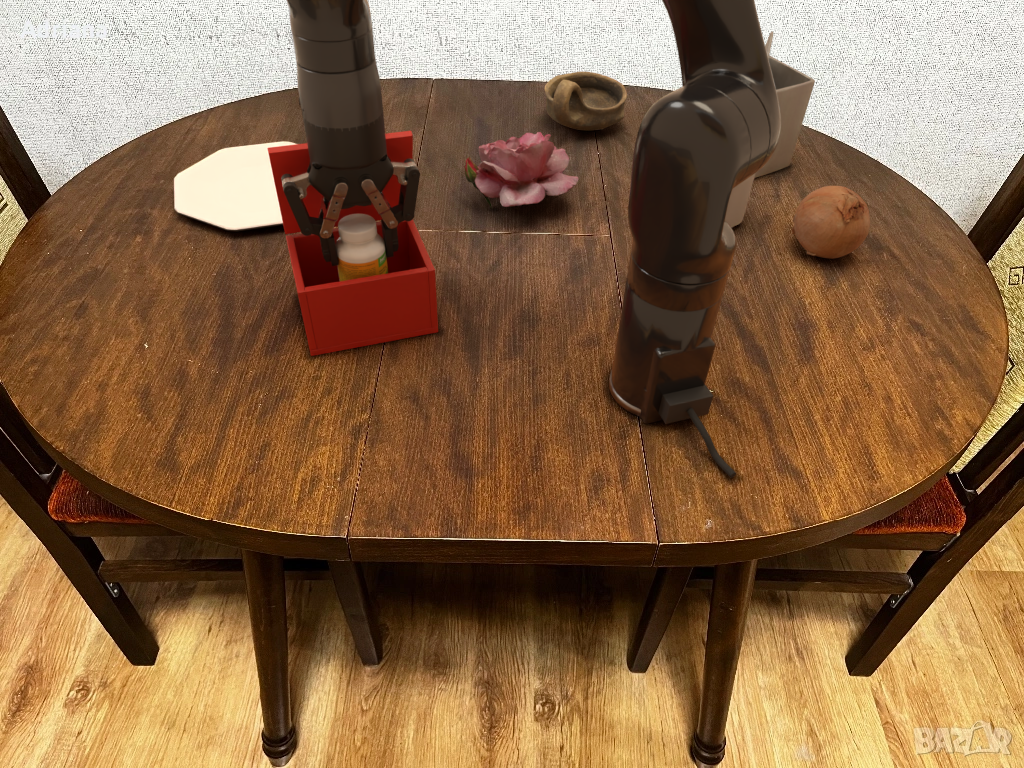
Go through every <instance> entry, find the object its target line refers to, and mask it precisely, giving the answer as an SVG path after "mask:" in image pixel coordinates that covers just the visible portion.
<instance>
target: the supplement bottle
mask: <svg viewBox="0 0 1024 768" xmlns="http://www.w3.org/2000/svg"><path fill="white" fill-rule="evenodd" d="M376 222H377V221H375V219H374V218H373V217H371V216H369V215H366V214H351V215H347V216H345V217H343V218H342V219H341V220H340V221H339V223H338V227H337V228H338V230H339V236H340V237H339V239H338V240H337V242H336V244H335V246H336V252H337V259H338V271H339V278H340V281H345V280H351V279H357V278H363V277H369V276H375V275H381V274H387V273H388V266H387V257H386V247H385V242H384V240H383V238H382V237H381V236H380V235H379V234H377V226H376Z"/></svg>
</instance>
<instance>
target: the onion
mask: <svg viewBox="0 0 1024 768" xmlns="http://www.w3.org/2000/svg"><path fill="white" fill-rule="evenodd" d="M792 221H793V227H792V228H791V234H792V236H795V238H796V239H797V241H798V243H799V244H800V246H801V247H802V248H803V249H804V250H805V252H806V255H810V256H813V257H818V258H824V259H838V258H842V257H845V256H847V255H850V254H851V253H853V252H854V251H855V250H857V249H858V248H859V247H860V246H861V245H862V244H863V243H864V242H865V240H866V239H867V237H868V235H869V233H870V229H871V217H870V211H869V207H868V205H867V203H866V201H864V199H863V198H862V197H861V196H860V195H859V194H858V193H857V192H855V191H853V189H850V188H847V187H846V186H841V185H825V186H822V187H820V188H817V189H814V190H813V191H812V192H810V193H809V194H807V195H806V196H805V197H804V198H803V199H802V200H801V201H800V202H799V204H798V206H797V207H796V210H795V212H794V215H793V219H792Z"/></svg>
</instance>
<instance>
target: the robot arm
mask: <svg viewBox="0 0 1024 768" xmlns="http://www.w3.org/2000/svg"><path fill="white" fill-rule="evenodd" d="M661 2H662V3H663V5H664V8H665V10H666V12H667V16H668V18H669V21H670V23H671V28H672V31H673V35H674V40H675V45H676V49H677V54H678V56H677V57H678V60H679V61H678V62H679V66H680V67H679V68H680V74H681V85H682V86H681V87H679V88H677V89H675V90H673V91H671V92H670V93H667V94H666V95H664V96H662V97H660V98H659V99H658V100H657V101H655V102H654V103H653V104H652V105H651V106H650V107H648V110H647V111H646V112H645V113H644V116H643V118H642V119H641V122H640V125H639V127H638V131H637V134H636V139H635V143H634V149H633V156H632V165H631V173H630V185H629V186H630V187H629V197H628V206H627V220H628V227H629V231H630V234H631V239H632V242H631V249H630V255H629V262H628V269H627V274H626V281H625V285H624V292H623V300H622V304H621V311H620V318H619V323H618V330H617V335H616V342H615V348H614V354H613V360H612V361H613V362H612V367H611V371H610V374H609V380H608V388H609V392H610V394H611V396H612V398H613V400H614V401H615V402H616V403H617V404H618V405H619V406H620V407H621V408H623V409H624V410H625V411H627V412H629V413H630V414H633V415H635V416H638V417H639V418H640V419H641V420H642V422H643V423H644V424H652V423H657V422H660V421H663V422H664V424H665V425H668V424H673V423H676V422H680V421H685V420H689V419H690V420H691V421H692V424H693V425H694V427H695V428H696V429H697V431H698V432H699V435H700V436H701V438H702V440H703V442H704V443H705V447H706V448H707V450H708V453H709V455H710V456H711V458H712V459H713V461H714V462H715V463H716V465H717V466H718V467H720V469H721V470H722V471H723V472H724V473H725V474H726V475H727V476H728V477H729V478H730V479H733V478H734V477H735V476H736V475H737V472H736V471H735V470H734V469H733V468H732V467H731V466H730V465H729V464H728V463H727V462H726V461H725V460H724V459H723V458H722V456H721V455H720V454H719V452H718V450H717V448H716V447H715V444H714V442H713V440H712V438H711V435H710V434H709V432H708V430H707V428H706V427H705V425H704V424H703V422H702V421H701V419H700V418H699V417H702V416H706V415H709V413H710V409H711V407H712V404H713V399H714V394H713V393H712V392H711V391H710V389H709V388H708V386H707V384H706V382H707V378H708V376H709V375H708V374H709V372H710V367H711V364H712V360H713V357H714V353H715V349H716V346H717V345H716V342H715V341H714V340H713V339H712V337H713V333H714V329H715V326H716V323H717V319H718V315H719V311H720V307H721V304H722V299H723V296H724V292H725V290H726V286H727V283H728V278H729V275H730V272H731V268H732V264H733V260H734V257H735V253H736V248H737V237H736V236H737V235H736V234H735V232H734V229H733V227H732V228H731V227H730V225H729V224H728V223H727V222H726V221H725V217H726V212H727V207H728V203H729V199H730V195H731V192H732V189H733V188H734V187H736V186H737V185H739V184H740V183H742V182H743V181H745V180H746V179H747V178H749V177H750V176H752V175H753V174H755V173H756V172H757V171H759V170H760V169H761V168H762V167H763V166H764V165H765V164H766V163H767V162H768V161H769V159H770V158H771V156H772V155H773V153H774V151H775V149H776V147H777V144H778V140H779V136H780V128H781V118H780V108H779V102H778V97H777V92H776V88H775V83H774V79H773V75H772V71H771V67H770V63H769V59H768V55H767V51H766V47H765V45H766V42H765V40H764V35H763V32H762V28H761V23H760V19H759V15H758V11H757V5H756V1H755V0H661ZM286 4H287V6H288V7H287V8H288V15H289V23H290V32H291V38H292V39H291V40H292V44H293V50H294V56H295V62H296V63H295V64H296V80H297V81H296V82H297V91H298V104H299V107H300V110H301V115H302V120H303V121H302V122H303V127H304V133H305V138H306V143H307V145H308V151H309V157H310V164H309V167H308V169H307V173H304V174H301V175H297V176H294V177H293V176H292V175H291V174H284V175H283V176H282V177H281V181H282V185H283V190H284V194H285V196H286V198H287V200H288V203H289V205H290V207H291V210H292V212H293V214H294V216H295V219H296V221H297V223H298V225H299V228H300V230H301V232H300V233H302V234H303V235H305V236H309V235H311V234H314V235H317V236H319V237H320V243H321V248H322V253H323V257H324V259H325V261H326V262H330V261H331V265H332V266H337V265H338V259H337V252H336V246H335V240H334V235H333V228H335V227H334V225H335V222H336V221H337V220H338V217H339V214H340V211H341V209H348V208H351V207H354V206H369V205H371V203H372V204H373V205H374V207H375V209H376V210H377V212H378V213H379V215H380V216H381V217H382V220H380V221H381V225H382V235H383V240H384V242H385V247H386V256H387V258H389V257H394V253H393V252H395V251H398V248H399V244H398V232H397V226H398V224H399V223H400V222H402V221H404V220H405V221H411V220H412V219H413V220H414V218H415V211H416V208H417V207H416V206H417V200H418V199H417V198H418V193H419V185H420V179H421V172H420V170H419V167H418V165H417V163H416V161H415V160H414V159H411V158H408V159H406V160H405V161H404V162H391V160H390V158H389V157H388V155H387V147H386V137H385V134H386V128H385V127H386V125H385V116H384V115H385V114H384V105H383V96H382V95H383V94H382V85H381V78H380V74H379V70H378V65H377V60H376V52H375V50H376V49H375V41H374V31H373V20H372V19H373V18H372V12H371V7H370V3H369V0H286ZM393 174H394V175H396V177H397V180H398V182H399V183H400V184H401V187H400V194H399V202H398V205H396V206H394V207H392V208H391V206H390V204H389V203H388V201H387V199H386V197H385V196H384V194H383V192H382V191H383V189H384V188H385V186H386V185H387V183H388V181H389V180H390V178H391V177H392V175H393ZM310 185H312V186H313V187H314V188H315V189H316V190H317V191H318V192H319V193H320V194H321V195H323V197H322V200H321V208H320V212H319V215H318V218H315V217H310V216H309V213H308V211H307V209H306V206H305V204H304V202H303V199H304V198H305V197H306V196H307V187H308V186H310Z"/></svg>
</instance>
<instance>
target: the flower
mask: <svg viewBox="0 0 1024 768" xmlns="http://www.w3.org/2000/svg"><path fill="white" fill-rule="evenodd" d="M551 136H552V135H551V133H550V134H548V133H546V134H545V135H543V133H542V132H541V131H537V132H536V133H532V132H525V133H524V134H522V135H521V136H520V137H516V136H511V137H509V138H508V139H507V140H506V141H505V140H503V139H498V140H496V141H494V142H490V143H489V142H488V143H486V144H482V145H481V144H480V145H479V146H478V154H479V158H480V161H481V162H480V163H479V165H477V164H476V163H475V162H474V161H473V160H472V158H471V156H468V157H467V158H466V159H465V165H464V166H463V168H464V175H465V179H466V180H467V181H468V182H469V183H471V184H472V185H473V187H474V188H475V189H477V190H478V191H479V193H480V194H481V195H482V196H483V197H484V199H485V201H486V202H487V204H488V205H489V207H490V208H491V209H490V210H493V205H492V202H491V200H490V199H499V204H501V206H502V207H505V208H508V207H516V206H522V205H526V206H527V205H532V204H536V205H537V204H539V203H541V202H542V201H543V200H544V198H545V197H546V196H549V197H553V196H554V197H555V196H560V195H562V194H566V193H568V192H569V191H571V190H572V189H573V188H574V187H575V186H576V185H577V183H578V182H579V176H572V175H567V174H565V173H564V172H565V170H566V169H567V168H568V167H569V164H570V156H569V155H568V154H567V152H566V149H565V148H559V149H558V148H557V146H555V145H554V142H552V141H550V138H551Z"/></svg>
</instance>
